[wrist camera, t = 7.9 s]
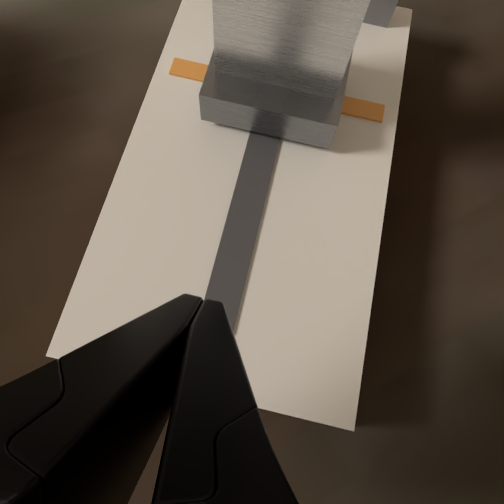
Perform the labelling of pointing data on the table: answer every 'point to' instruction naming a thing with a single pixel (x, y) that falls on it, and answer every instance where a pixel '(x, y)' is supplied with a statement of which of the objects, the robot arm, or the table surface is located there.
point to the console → (252, 223)
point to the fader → (281, 66)
